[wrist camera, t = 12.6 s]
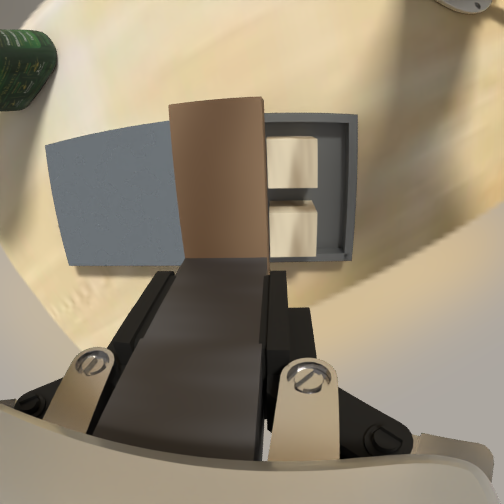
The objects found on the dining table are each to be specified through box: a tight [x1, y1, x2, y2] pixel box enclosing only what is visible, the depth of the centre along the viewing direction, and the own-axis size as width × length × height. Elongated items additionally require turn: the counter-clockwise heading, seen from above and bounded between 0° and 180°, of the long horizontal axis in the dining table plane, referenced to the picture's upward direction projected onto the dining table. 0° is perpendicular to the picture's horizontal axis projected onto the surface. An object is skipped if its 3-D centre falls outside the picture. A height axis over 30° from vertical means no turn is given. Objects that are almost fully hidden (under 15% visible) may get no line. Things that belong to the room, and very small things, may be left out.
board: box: [45, 121, 185, 266], centre depth 29 cm, size 20×14×2 cm
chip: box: [266, 136, 318, 188], centre depth 26 cm, size 4×4×4 cm
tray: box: [264, 113, 358, 262], centre depth 28 cm, size 11×14×2 cm
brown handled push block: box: [92, 97, 270, 461], centre depth 9 cm, size 3×14×12 cm, turn 3°
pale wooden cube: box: [269, 200, 317, 257], centre depth 28 cm, size 4×4×4 cm
